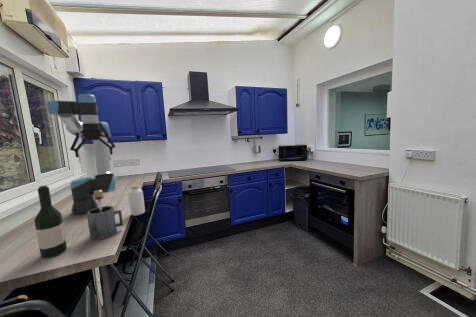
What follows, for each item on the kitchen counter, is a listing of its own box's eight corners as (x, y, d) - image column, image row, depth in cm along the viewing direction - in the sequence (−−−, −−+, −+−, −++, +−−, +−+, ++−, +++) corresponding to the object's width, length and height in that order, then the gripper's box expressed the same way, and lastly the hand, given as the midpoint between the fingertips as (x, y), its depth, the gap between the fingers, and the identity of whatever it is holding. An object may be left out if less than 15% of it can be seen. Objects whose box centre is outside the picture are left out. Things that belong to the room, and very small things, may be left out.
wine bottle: (52, 248, 89) (41, 184, 86) (71, 246, 90) (61, 183, 86) (35, 259, 81) (22, 189, 77) (56, 257, 81) (44, 187, 78)
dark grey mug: (91, 233, 102) (87, 209, 100) (122, 225, 109) (119, 203, 108) (89, 242, 92) (85, 216, 91) (124, 233, 100) (120, 208, 98)
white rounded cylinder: (139, 216, 122) (135, 188, 120) (127, 216, 123) (124, 188, 121) (147, 211, 130) (144, 185, 128) (137, 211, 131) (133, 185, 129)
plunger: (95, 226, 101) (89, 190, 98) (111, 222, 104) (106, 188, 102) (94, 231, 95) (88, 193, 93) (111, 227, 99) (106, 190, 96)
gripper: (58, 123, 97) (65, 165, 99) (117, 122, 111) (121, 159, 113) (61, 124, 103) (68, 163, 106) (116, 123, 117) (121, 158, 119)
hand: (96, 161), depth 109 cm, fingers open, 13 cm apart
